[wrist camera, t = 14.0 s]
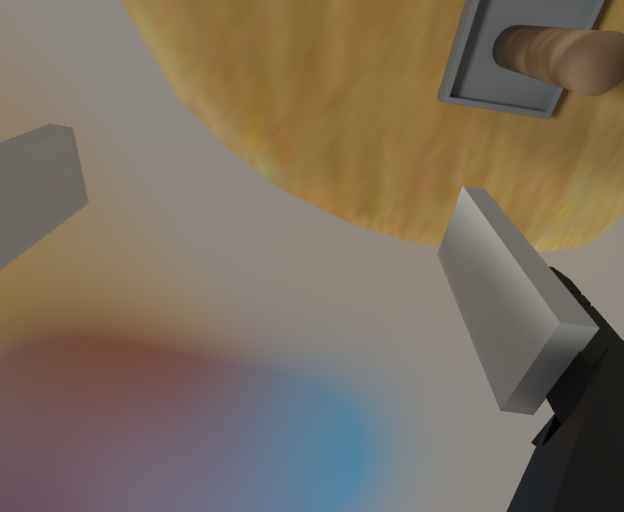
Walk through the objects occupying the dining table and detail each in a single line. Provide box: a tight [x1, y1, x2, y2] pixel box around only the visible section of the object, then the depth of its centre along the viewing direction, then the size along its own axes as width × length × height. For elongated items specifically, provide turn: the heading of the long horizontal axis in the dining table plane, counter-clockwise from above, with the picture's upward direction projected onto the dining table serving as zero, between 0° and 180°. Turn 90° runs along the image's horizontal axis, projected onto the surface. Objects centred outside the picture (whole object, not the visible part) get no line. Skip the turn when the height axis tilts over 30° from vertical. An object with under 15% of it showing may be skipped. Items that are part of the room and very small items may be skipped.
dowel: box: [492, 25, 624, 96], centre depth 33 cm, size 4×4×16 cm
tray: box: [437, 0, 605, 119], centre depth 39 cm, size 12×12×2 cm
